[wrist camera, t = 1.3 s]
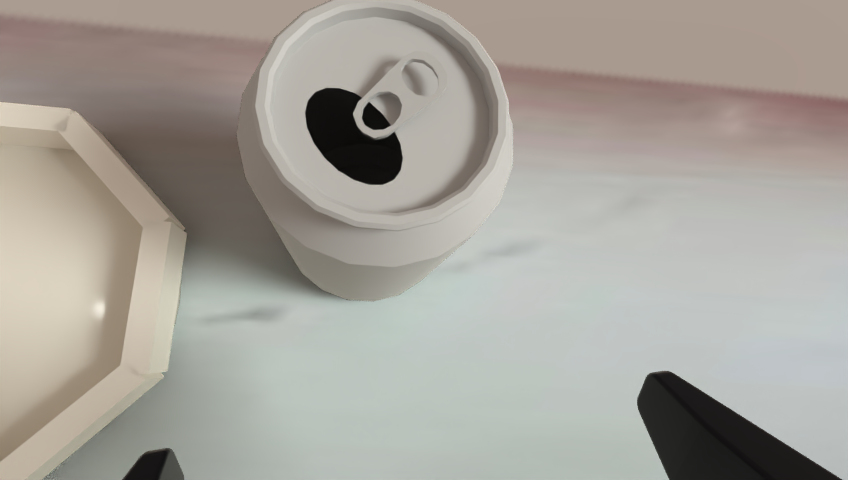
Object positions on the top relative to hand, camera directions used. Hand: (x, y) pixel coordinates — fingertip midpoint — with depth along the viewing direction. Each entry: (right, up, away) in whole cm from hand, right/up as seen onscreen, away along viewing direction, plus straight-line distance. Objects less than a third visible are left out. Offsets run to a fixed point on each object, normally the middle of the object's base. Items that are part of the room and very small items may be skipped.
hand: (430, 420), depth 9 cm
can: (-3, +4, +14) cm, 15 cm away
